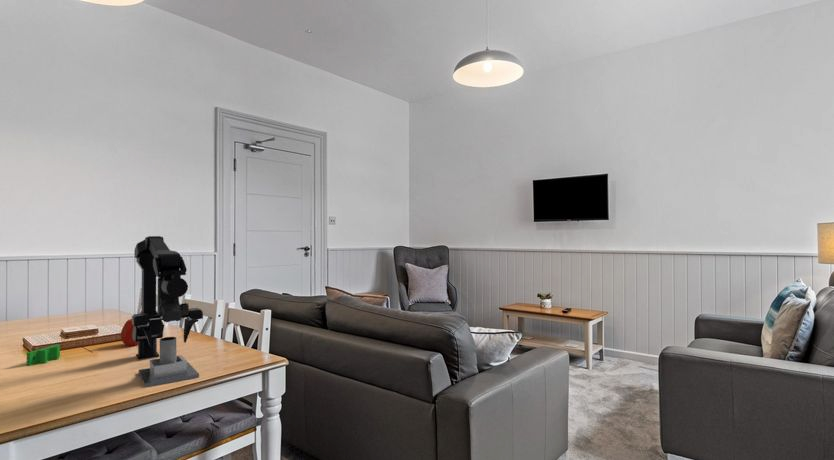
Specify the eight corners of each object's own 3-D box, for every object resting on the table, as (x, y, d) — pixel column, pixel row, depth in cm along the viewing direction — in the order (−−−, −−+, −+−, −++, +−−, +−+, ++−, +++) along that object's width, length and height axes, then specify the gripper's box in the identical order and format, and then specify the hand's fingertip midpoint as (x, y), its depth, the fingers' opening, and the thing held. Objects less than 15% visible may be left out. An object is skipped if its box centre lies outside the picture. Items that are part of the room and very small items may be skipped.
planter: (159, 375, 137) (159, 341, 137) (160, 370, 141) (159, 337, 141) (176, 372, 140) (176, 339, 139) (176, 368, 144) (176, 336, 143)
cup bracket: (138, 373, 142) (138, 358, 142) (187, 364, 151) (187, 351, 151) (145, 387, 130) (145, 371, 130) (199, 377, 138) (199, 362, 138)
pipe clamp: (36, 366, 150) (36, 353, 150) (26, 366, 151) (26, 352, 151) (66, 357, 161) (66, 344, 161) (57, 356, 162) (57, 343, 162)
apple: (149, 344, 179) (149, 316, 179) (127, 348, 172) (127, 320, 172) (138, 341, 183) (138, 314, 183) (116, 345, 176) (116, 318, 176)
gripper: (136, 300, 128) (136, 355, 128) (207, 294, 140) (207, 345, 140) (131, 295, 137) (131, 347, 137) (198, 290, 149) (198, 338, 149)
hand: (168, 344), depth 140 cm, fingers open, 9 cm apart
